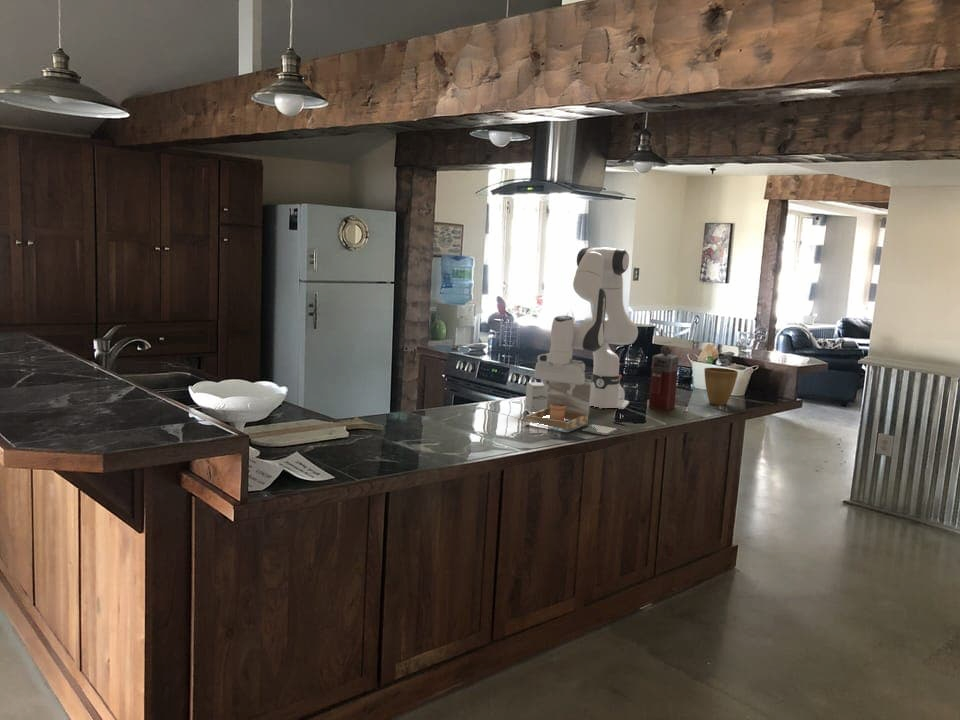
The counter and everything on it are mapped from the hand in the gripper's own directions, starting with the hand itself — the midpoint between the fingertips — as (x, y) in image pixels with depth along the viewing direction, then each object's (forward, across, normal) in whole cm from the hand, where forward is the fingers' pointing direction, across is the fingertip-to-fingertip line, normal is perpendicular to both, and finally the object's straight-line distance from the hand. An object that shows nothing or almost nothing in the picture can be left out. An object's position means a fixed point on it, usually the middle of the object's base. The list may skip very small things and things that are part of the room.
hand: (558, 393), depth 302 cm
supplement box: (+13, +16, -14) cm, 25 cm away
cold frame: (+13, 0, -1) cm, 13 cm away
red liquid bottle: (+12, -21, -63) cm, 67 cm away
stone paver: (+13, -17, -3) cm, 21 cm away
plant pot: (+11, -39, -91) cm, 99 cm away
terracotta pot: (+13, 0, -1) cm, 13 cm away
